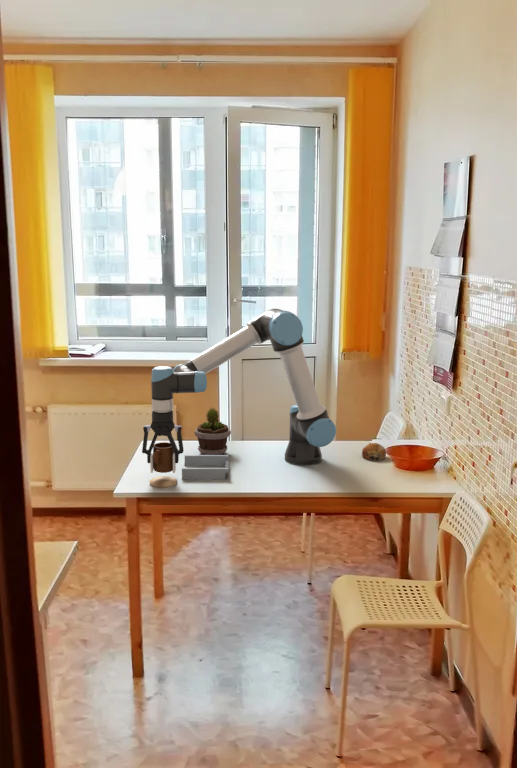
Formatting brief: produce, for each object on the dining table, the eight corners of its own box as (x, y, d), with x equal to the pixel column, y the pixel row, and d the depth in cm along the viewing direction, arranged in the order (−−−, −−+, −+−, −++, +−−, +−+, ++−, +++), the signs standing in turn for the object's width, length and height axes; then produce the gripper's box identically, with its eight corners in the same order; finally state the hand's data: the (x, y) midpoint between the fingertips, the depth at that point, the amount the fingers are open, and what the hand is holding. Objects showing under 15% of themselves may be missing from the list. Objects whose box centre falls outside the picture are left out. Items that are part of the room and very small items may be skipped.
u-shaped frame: (228, 464, 262) (228, 455, 261) (228, 479, 246) (228, 468, 245) (184, 464, 261) (184, 454, 261) (181, 479, 245) (181, 468, 244)
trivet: (178, 478, 246) (178, 476, 245) (176, 487, 236) (176, 485, 236) (151, 478, 245) (151, 476, 245) (147, 487, 235) (147, 485, 235)
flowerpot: (230, 459, 269) (230, 411, 265) (192, 458, 269) (192, 410, 265) (231, 448, 283) (232, 403, 279) (196, 448, 283) (196, 402, 279)
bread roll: (387, 466, 275) (391, 447, 277) (379, 461, 267) (383, 442, 268) (365, 461, 280) (369, 443, 282) (356, 457, 272) (360, 438, 273)
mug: (165, 478, 234) (164, 452, 232) (145, 476, 235) (144, 450, 233) (177, 467, 245) (177, 443, 243) (158, 465, 247) (157, 441, 245)
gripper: (191, 407, 239) (191, 468, 244) (135, 407, 238) (136, 468, 243) (190, 412, 232) (190, 475, 236) (132, 412, 231) (133, 474, 235)
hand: (163, 471), depth 240 cm, fingers closed on mug, 7 cm apart
